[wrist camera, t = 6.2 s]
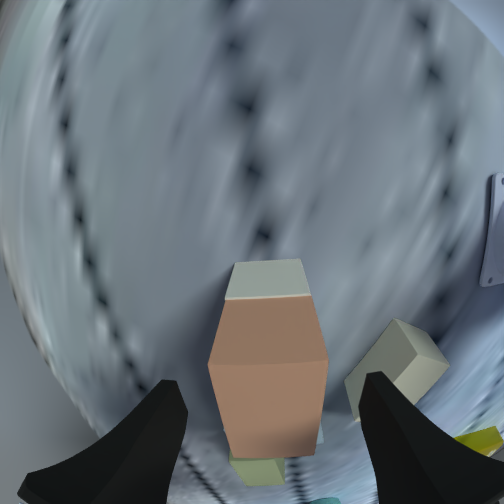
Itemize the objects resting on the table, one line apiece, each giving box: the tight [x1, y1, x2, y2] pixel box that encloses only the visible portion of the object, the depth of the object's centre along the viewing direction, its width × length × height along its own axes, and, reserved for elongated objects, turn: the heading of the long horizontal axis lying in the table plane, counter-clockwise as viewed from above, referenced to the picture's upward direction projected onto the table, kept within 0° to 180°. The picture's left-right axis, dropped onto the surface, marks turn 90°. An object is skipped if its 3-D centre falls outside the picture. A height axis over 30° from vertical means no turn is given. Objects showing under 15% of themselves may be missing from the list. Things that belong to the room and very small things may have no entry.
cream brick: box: [344, 318, 450, 422], centre depth 15 cm, size 6×4×4 cm, turn 156°
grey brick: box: [225, 259, 311, 301], centre depth 14 cm, size 6×4×4 cm, turn 5°
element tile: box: [454, 426, 504, 457], centre depth 23 cm, size 15×15×5 cm
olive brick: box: [229, 449, 285, 486], centre depth 19 cm, size 6×4×4 cm, turn 12°
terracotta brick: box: [208, 295, 329, 458], centre depth 10 cm, size 6×4×4 cm, turn 4°
